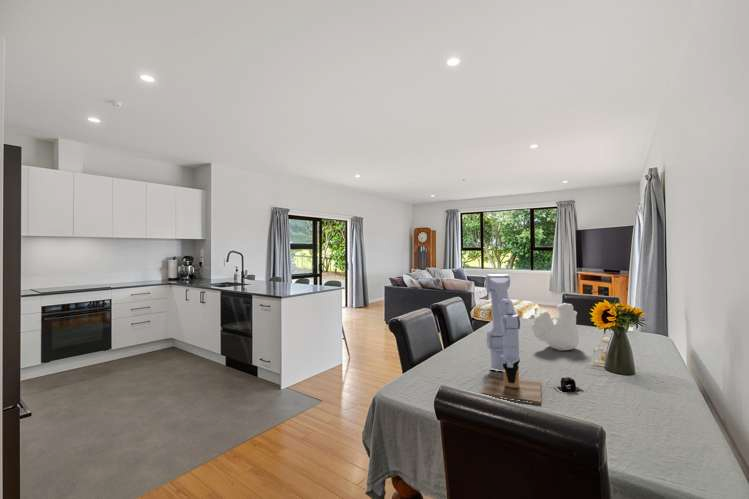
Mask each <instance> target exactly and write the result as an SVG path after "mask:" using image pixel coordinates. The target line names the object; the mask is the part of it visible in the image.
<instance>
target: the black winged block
mask: <svg viewBox="0 0 749 499" xmlns="http://www.w3.org/2000/svg"><path fill="white" fill-rule="evenodd" d="M576 386H577V384H576V380H575V379H574V378H572V377H569V376H567V377H561V379H560V386H556V387H557V388H558V389H559V390H560V391H562V392H564V393H565V392H566V393H582V392H583V393H584V392H585V390H583V389H581V388H580V387H579V386H577V387H576ZM580 391H581V392H580ZM564 393H563V394H564Z"/></svg>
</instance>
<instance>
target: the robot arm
mask: <svg viewBox="0 0 749 499" xmlns="http://www.w3.org/2000/svg"><path fill="white" fill-rule="evenodd" d="M510 286H511V278H510V275H509V274H508V273H505V274H504V273H503V274H502V273H496V274H488V273H487V274H486V275H485V290H486V292H487V293H489V294H490V299H491V300H490V302H491V316H492V318H491V319H492V328H490V329H489V330H488V331H487V332H486V346H487V348H488V349H489V350H490V367H492V368H494V369H498V370H504V369H505V371H506V374H507V378H508V382H509V383H515V378H516V372H517V370H518V369H519V368H520V366H519V363H520V362H521V361H520V360H521V359H520V345H519V343H520V336H519V330H521V319H520V315H519V314H518V313H517V312H516V311H515V307H514V302H513V301H512V300H510V299H509V294H508V290H509V288H510Z"/></svg>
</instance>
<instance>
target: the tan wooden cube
mask: <svg viewBox="0 0 749 499" xmlns="http://www.w3.org/2000/svg"><path fill="white" fill-rule="evenodd" d="M502 373H503V376H504V386H509V387H517V388H519V378H520V369H519V368H518V370H517V372H516V378H515V383H509V382H508V378H507V374H506V371H505V369H504V371H503V372H502Z"/></svg>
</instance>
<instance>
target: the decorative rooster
mask: <svg viewBox="0 0 749 499" xmlns="http://www.w3.org/2000/svg"><path fill="white" fill-rule="evenodd" d="M556 310H557V315H552V316H551V315H550V313H549V312H548V311H547V310H541V311H539V312H538V314H537V315H536V316H534V319H533V320H532V321H533V322H532V324H531V325H530V327H531V331H532V333H533V334H532V335H533V336H534V338H536V339H537V340H539V341H540V342H545V343H546V344H547V345H548V346H549V347H550V348H552V349H553V348H554V349H553V350H556V349H557V351H570V350H573V349H575V348H577V347H578V345H579V343H580V336H579V330H578V327H577V325H576V324H577V315H578V312H577V311H576V310H574V305H573V304H572V303H567V302H563V303H561V304H558V305H557V306H556ZM554 319H555V321H553V320H554Z"/></svg>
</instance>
